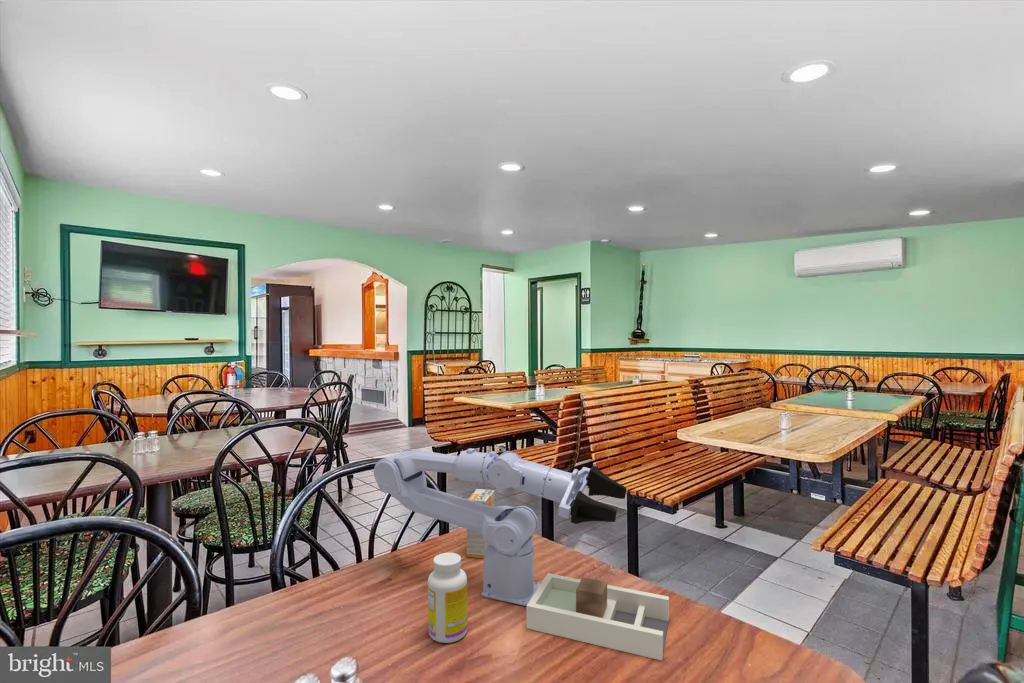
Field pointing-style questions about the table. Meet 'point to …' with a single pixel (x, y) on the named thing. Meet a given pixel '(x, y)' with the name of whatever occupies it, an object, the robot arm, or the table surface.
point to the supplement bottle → (447, 599)
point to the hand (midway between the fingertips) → (620, 504)
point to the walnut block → (591, 597)
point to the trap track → (624, 626)
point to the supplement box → (475, 539)
